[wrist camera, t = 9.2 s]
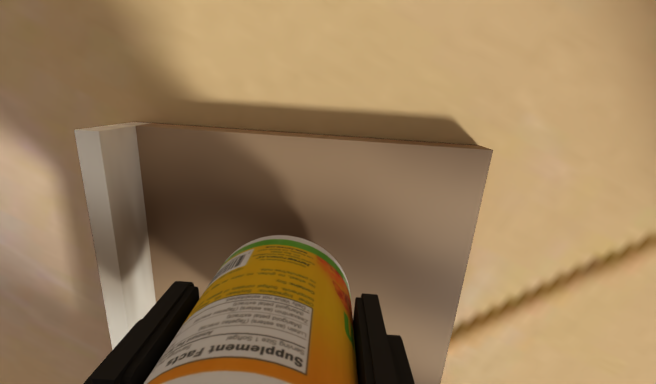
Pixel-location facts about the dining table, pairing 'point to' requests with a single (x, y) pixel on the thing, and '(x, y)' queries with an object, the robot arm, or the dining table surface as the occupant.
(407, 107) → the dining table surface
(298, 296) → the supplement bottle
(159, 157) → the thin taupe panel
